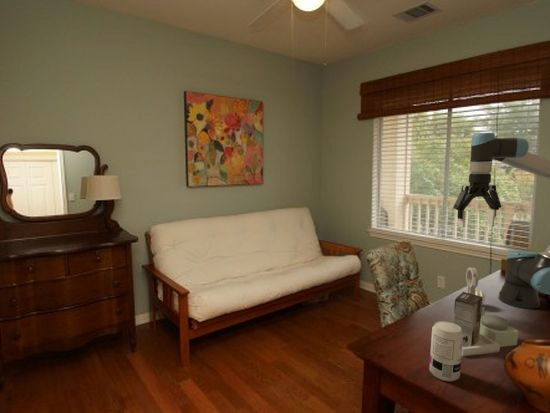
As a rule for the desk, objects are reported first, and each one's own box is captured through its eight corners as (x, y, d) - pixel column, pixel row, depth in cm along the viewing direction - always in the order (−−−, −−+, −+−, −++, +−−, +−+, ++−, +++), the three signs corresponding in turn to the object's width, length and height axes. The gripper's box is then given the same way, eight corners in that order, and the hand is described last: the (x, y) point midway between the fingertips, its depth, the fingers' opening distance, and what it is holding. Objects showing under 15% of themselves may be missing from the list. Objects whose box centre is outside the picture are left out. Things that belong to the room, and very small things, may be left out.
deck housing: (490, 328, 131) (491, 311, 130) (523, 348, 117) (525, 329, 116) (434, 335, 126) (435, 316, 125) (462, 356, 112) (464, 336, 112)
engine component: (460, 322, 136) (488, 324, 134) (464, 271, 133) (492, 273, 131) (451, 310, 147) (477, 312, 145) (455, 263, 144) (482, 265, 142)
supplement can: (423, 366, 107) (427, 320, 105) (449, 365, 108) (453, 319, 106) (438, 383, 99) (442, 334, 97) (465, 382, 100) (470, 332, 98)
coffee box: (459, 333, 126) (463, 291, 124) (479, 340, 122) (483, 296, 119) (450, 343, 120) (454, 298, 117) (471, 350, 115) (475, 304, 113)
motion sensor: (459, 303, 154) (461, 286, 153) (473, 301, 156) (474, 284, 155) (474, 310, 146) (476, 293, 145) (488, 308, 148) (490, 291, 147)
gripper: (499, 172, 143) (494, 223, 146) (445, 173, 138) (442, 225, 141) (515, 173, 135) (510, 226, 138) (459, 173, 130) (455, 229, 133)
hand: (475, 226), depth 139 cm, fingers open, 13 cm apart
